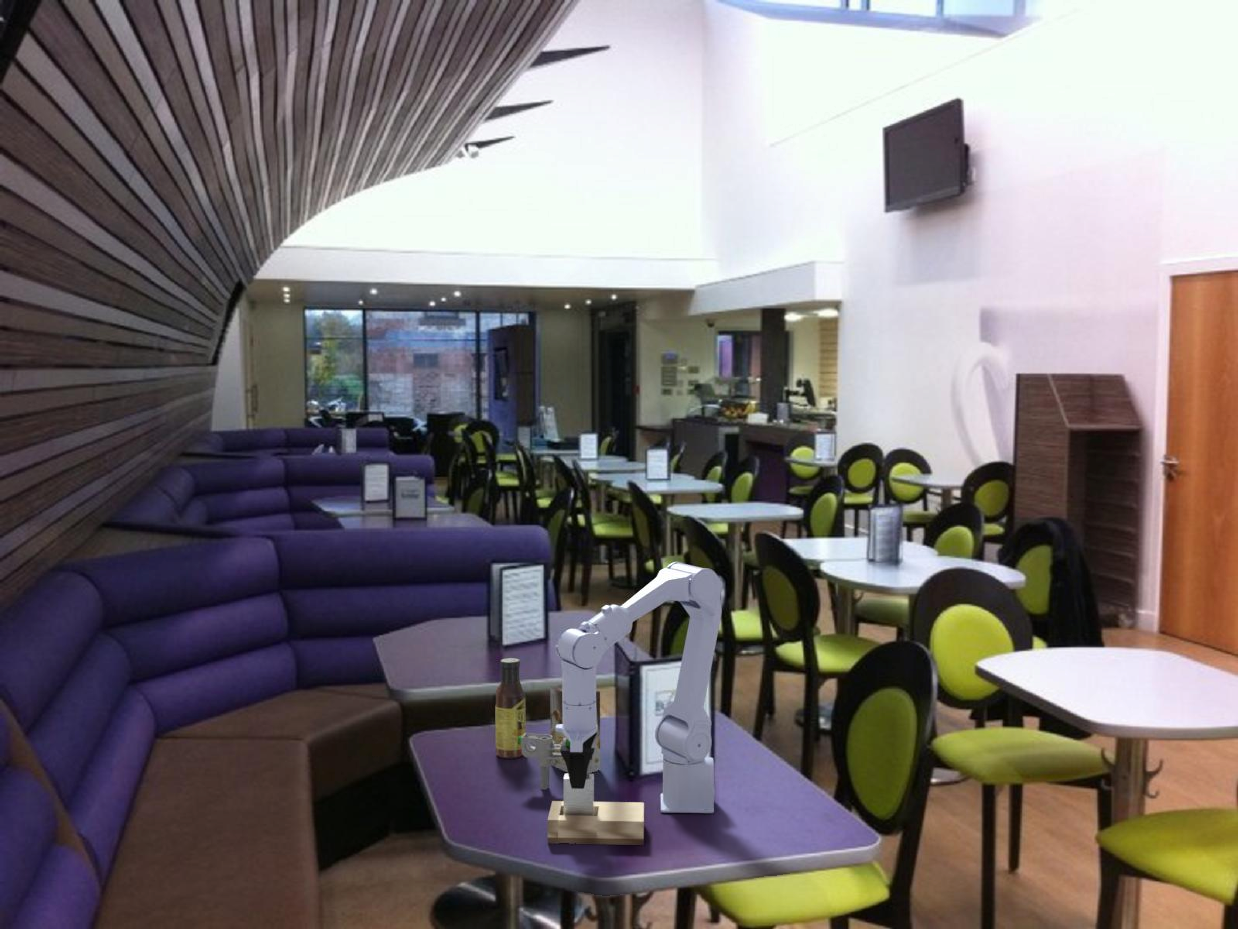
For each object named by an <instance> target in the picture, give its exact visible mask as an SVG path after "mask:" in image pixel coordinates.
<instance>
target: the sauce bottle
mask: <svg viewBox="0 0 1238 929" xmlns="http://www.w3.org/2000/svg"><path fill="white" fill-rule="evenodd" d="M520 662H521V660H520V659H519V658H513V657H509V658H508V657H507V658H503V659H501V660H500V662H499V663H500V669H501V673H500V676H501V677H500V681H501V682H500V684H499V686H497V689H496V691H495V706H494V708H495V714H494V715H495V717H494V718H495V720H494V721H495V723H494V724H495V730H494V731H495V735H494V736H495V737H494V738H495V754H496V756H497V757H499V758H502V759H516V758H519V757H522V756H524V755H523V754H522V750H521V744H518V736H523V734H524V733H527V732H526V730H527V729H526V728H527V726H526V695H525V692H524V690H523V687H522V684H521V681H520V680H521V679H520V666H521V663H520Z"/></svg>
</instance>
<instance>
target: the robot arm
mask: <svg viewBox="0 0 1238 929" xmlns="http://www.w3.org/2000/svg"><path fill="white" fill-rule="evenodd" d="M722 589H723V582H722V580H721V579H720V577H719V575H717V573H716V572H715V571H714V569H713V570H712V569H711V568H705V567H704V568H703V567H699V566H695V565H690V564H686V563H683V562H682V561H674V562H673V561H672V563H671V562H670V564H668V565H667V566H666V567H664V568H662V569H660V570H659V571H658V573H657V575H656V577H655V578H654V579H652V580H651V581H650V582H649V583H648V584H646V585H645V586H644V587H643V588H641V589H640V590H639V591H638V592H637V593H635V594H634V595H633V596H632V597H631V598H629V599H628V600H627V601H625V602H624V603H623V604H621V605H617V604H611V605H608V604H605V605H604V606H603V607H601V608H600V610H601V611H600V612H598V613H597V614H596V615H594V616H593V617H591V618H590V619H589V620H587V621H582V622H581V623H580V624H579V625H580V626H578V628H570V629H566V630H565V631H564V632H563V633H562V634H561V636H560V637H559V639H558V642H557V644H556V645H555V646H554V650H555V654H556V656H557V657H558V659H559V660H560V663H561V664H560V666H561V667H560V668H561V675H562V676H561V677H562V678H561V679H562V684H561V685H562V715H563V724H557V725H556V731H557V732H562V733H563V734H564V735H565V736H566V738H567V739H568V741H569V744H570V746H561V748H560V753H561V755H562V757H563V759H564V761H565V763H566V766H567V770H568V773H567V774H568V775H569V780H570V784H571V788H572V789H584V786H585V782H586V776H587V769H588V765H589V762H590V759H591V757H592V755H593V753H594V749H595V748H591V747H592V744H593V741H594V739H595V737H596V735H597V731H598V729H597V725H596V690H597V665H599V663H600V662H601V661H602V658H603V657H604V656H603V655H604V654H605V652H606V651H607V649H609V648H610V647H611V646H613V645H615V644H616V643H617V642H619V641H620V640H622V639H623V638H624V637H625V636H627V635H628V634H630V633H631V631H632V628H633V622H635V621H637V620H638V619H640V618H641V617H643V616H645V615H646V614H648V613H649V612H651V611H653V610H655V609H657V607H659V606H661V605H663V604H664V603H665V602H667V601H674V602H675V601H676V602H679V603H680V604H681V606H682V607H683V608H684V610H685V612H686V613H687V615H688V616H689V623H688V626H687V627H688V628H687V632H686V637H685V641H684V642H685V643H684V647H683V652H682V657H681V661H680V662H681V663H680V669H679V673H678V679H677V683H676V689H675V695H674V699H673V701H672V702H670V703H669V704H668V705H666V706H665V707H664V708H663V711H662V716H661V718H660V720H659V722H658V723H657V725H656V728H655V730H654V732H655V733H654V737H655V738H654V739H655V740H656V741H655V742H656V744H657V745H658V746H659V747H660V748H661V754H662V755H663V756H662V757H663V758H662V793H660V812H661V813H670V814H671V813H675V814H677V813H680V814H681V813H682V814H686V813H687V814H688V813H690V814H713V813H714V812H715V808H714V807H715V804H714V803H715V802H714V801H715V799H716V788H715V762H714V758H713V757H711V756H708V755H709V753H710V751H711V748H712V736H711V728H712V727H711V726H712V720H711V719H710V717H709V714H708V713H707V711H706V709H705V708H704V706H705V701H706V696H707V691H708V685H709V682H710V681H709V680H710V675H711V670H712V666H713V661H714V654H715V650H716V644H717V638H718V634H719V629H720V623H721V619H722V610H723V609H722V602H721V594H722Z"/></svg>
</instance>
